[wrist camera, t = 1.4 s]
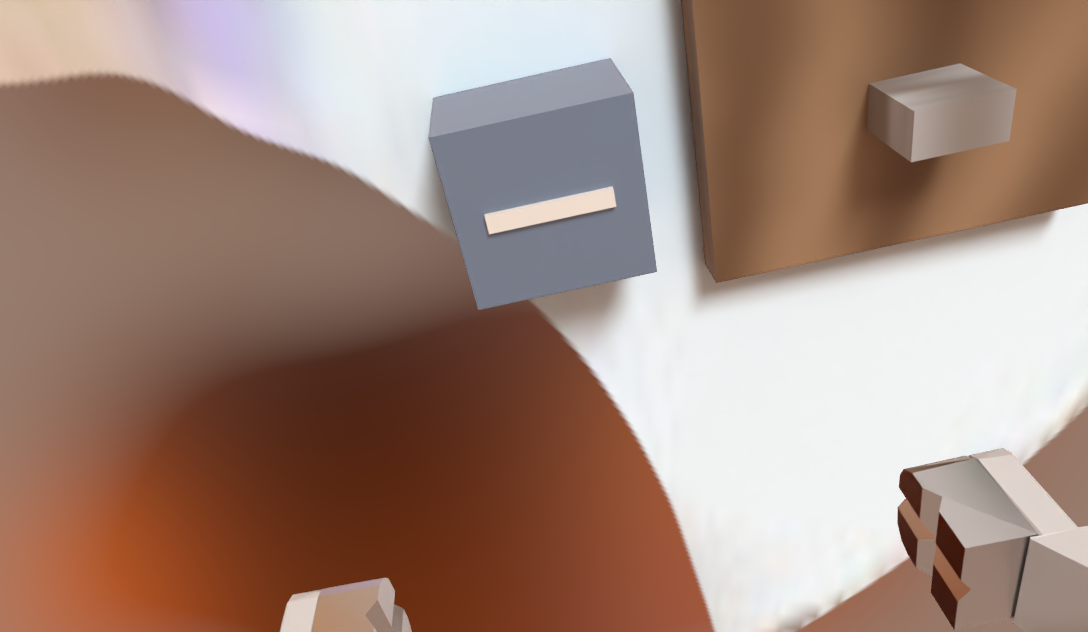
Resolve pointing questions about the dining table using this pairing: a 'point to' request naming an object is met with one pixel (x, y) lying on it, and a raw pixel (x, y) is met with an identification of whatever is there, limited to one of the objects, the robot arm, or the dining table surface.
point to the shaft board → (817, 123)
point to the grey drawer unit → (545, 182)
